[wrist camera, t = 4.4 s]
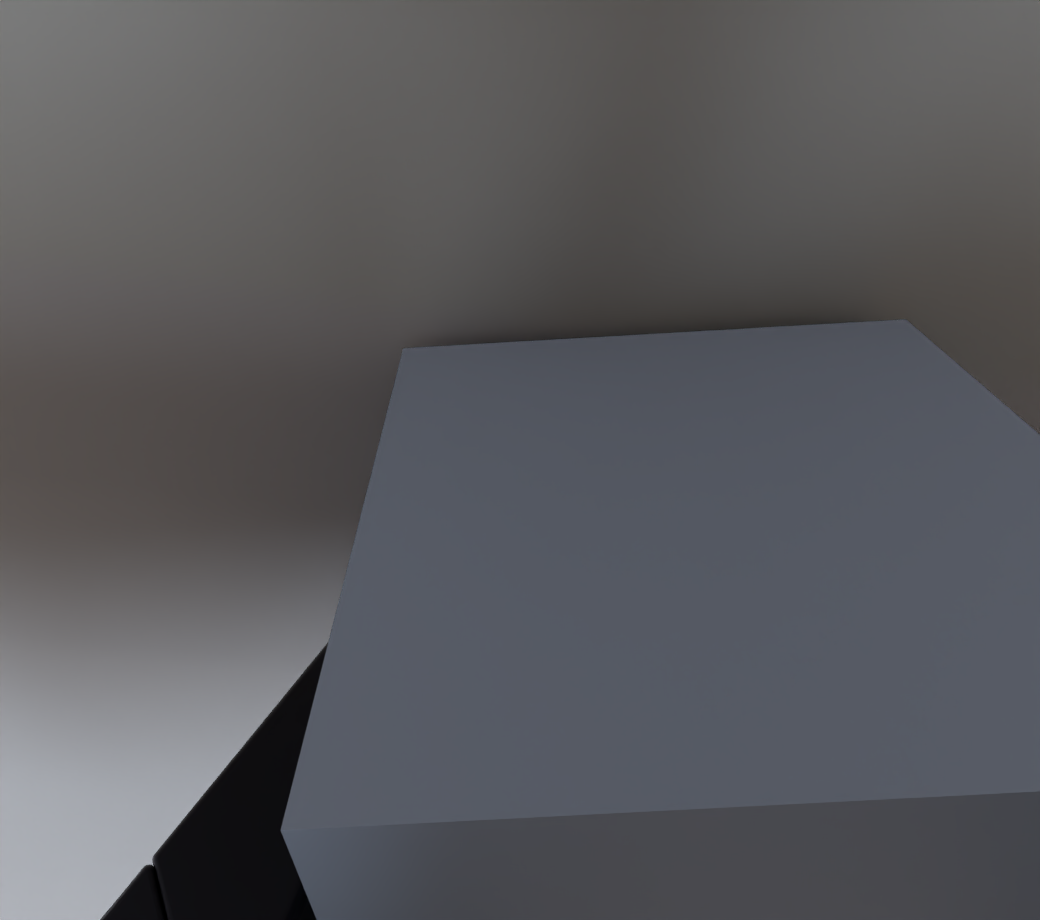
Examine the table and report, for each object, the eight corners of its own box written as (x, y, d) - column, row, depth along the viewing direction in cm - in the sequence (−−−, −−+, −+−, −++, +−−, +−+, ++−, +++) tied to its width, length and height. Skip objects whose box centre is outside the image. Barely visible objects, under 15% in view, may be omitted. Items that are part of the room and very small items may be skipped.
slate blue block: (453, 683, 10) (421, 1180, 6) (402, 347, 7) (280, 829, 3) (820, 663, 10) (1045, 1150, 6) (906, 319, 7) (1434, 772, 3)
